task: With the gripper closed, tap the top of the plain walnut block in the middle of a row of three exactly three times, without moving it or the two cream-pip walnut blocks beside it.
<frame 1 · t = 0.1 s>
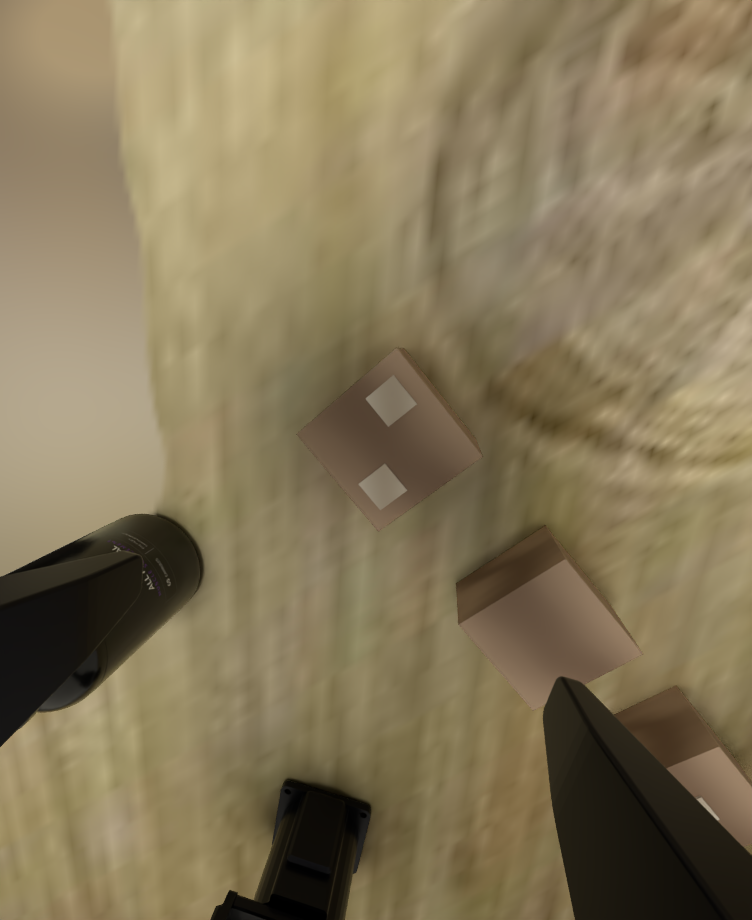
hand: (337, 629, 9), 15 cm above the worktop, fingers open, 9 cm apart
plain walnut block: (531, 592, 24), on the worktop
one-pip walnut block: (655, 741, 25), on the worktop
supplement bottle: (157, 557, 27), on the worktop
two-pip walnut block: (396, 429, 22), on the worktop
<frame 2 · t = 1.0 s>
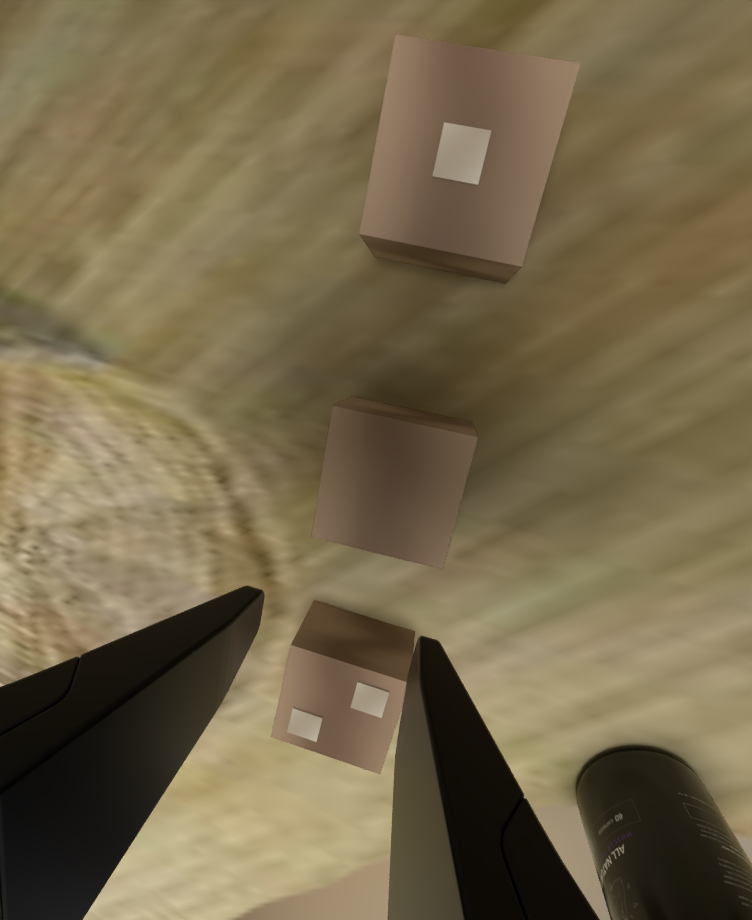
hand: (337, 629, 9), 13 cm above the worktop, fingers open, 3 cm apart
plain walnut block: (398, 465, 21), on the worktop
one-pip walnut block: (456, 197, 18), on the worktop
supplement bottle: (634, 788, 24), on the worktop
two-pip walnut block: (353, 655, 25), on the worktop
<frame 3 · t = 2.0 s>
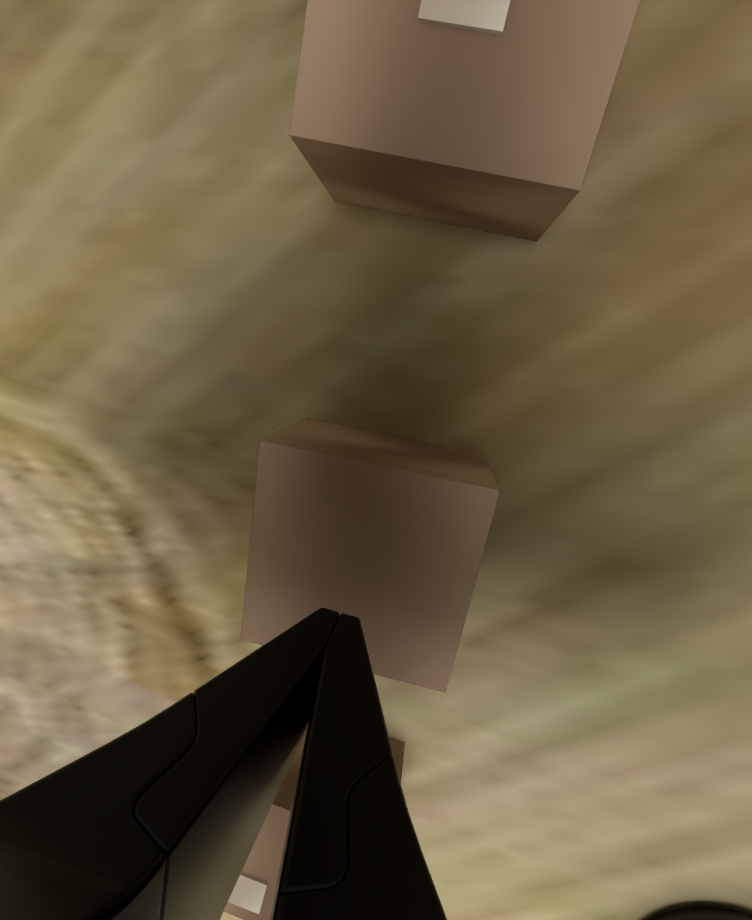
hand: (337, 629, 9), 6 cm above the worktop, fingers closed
plain walnut block: (378, 515, 15), on the worktop
one-pip walnut block: (461, 102, 11), on the worktop
two-pip walnut block: (320, 766, 18), on the worktop
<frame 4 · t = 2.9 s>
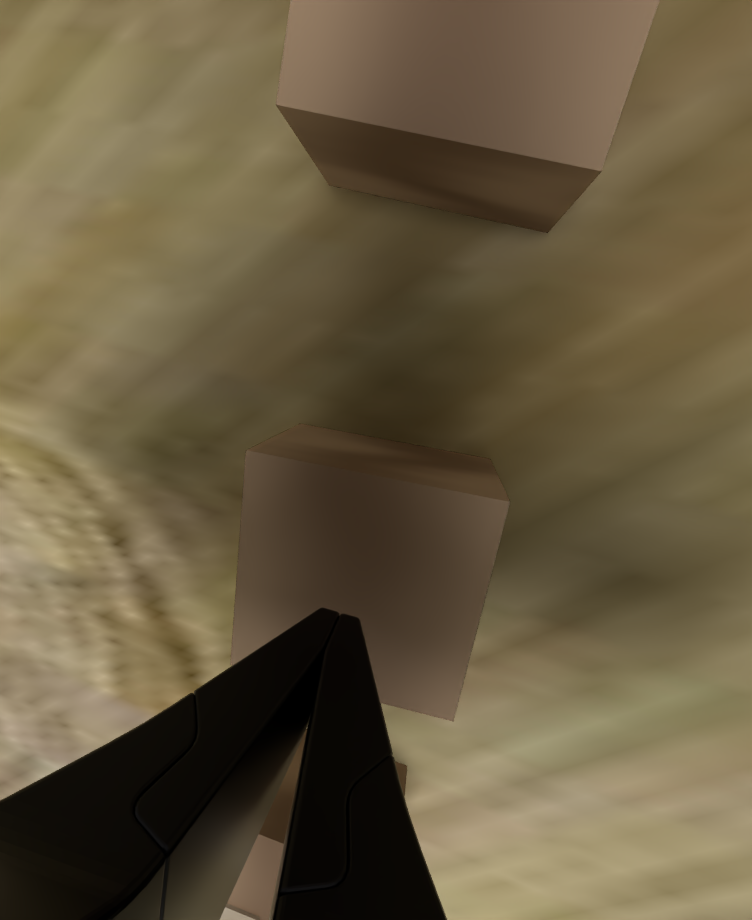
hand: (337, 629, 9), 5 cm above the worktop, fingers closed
plain walnut block: (378, 526, 14), on the worktop
one-pip walnut block: (468, 79, 10), on the worktop
two-pip walnut block: (317, 787, 17), on the worktop
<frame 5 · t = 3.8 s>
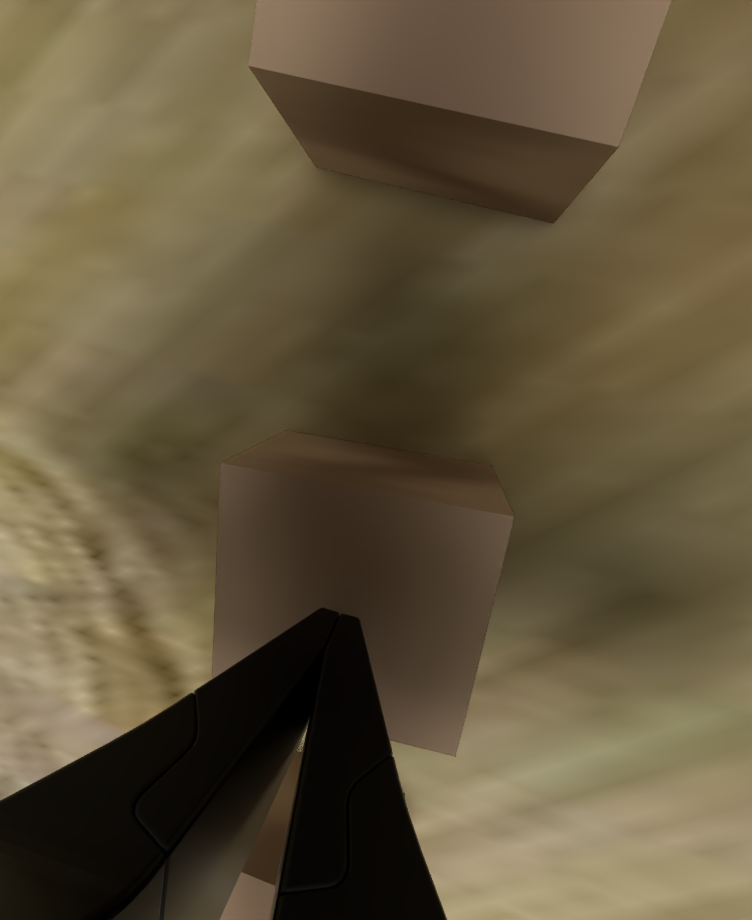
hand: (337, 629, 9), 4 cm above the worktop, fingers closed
plain walnut block: (372, 539, 13), on the worktop
one-pip walnut block: (469, 52, 10), on the worktop
two-pip walnut block: (308, 813, 16), on the worktop
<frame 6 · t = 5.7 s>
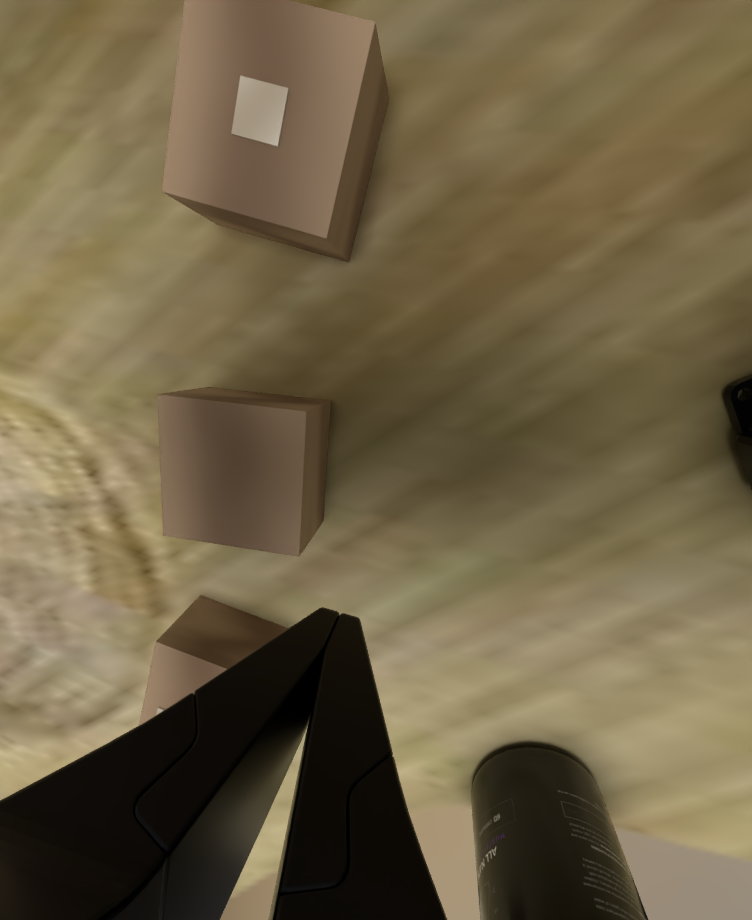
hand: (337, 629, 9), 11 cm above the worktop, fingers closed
plain walnut block: (268, 454, 20), on the worktop
one-pip walnut block: (299, 167, 17), on the worktop
supplement bottle: (531, 787, 23), on the worktop
two-pip walnut block: (240, 655, 24), on the worktop
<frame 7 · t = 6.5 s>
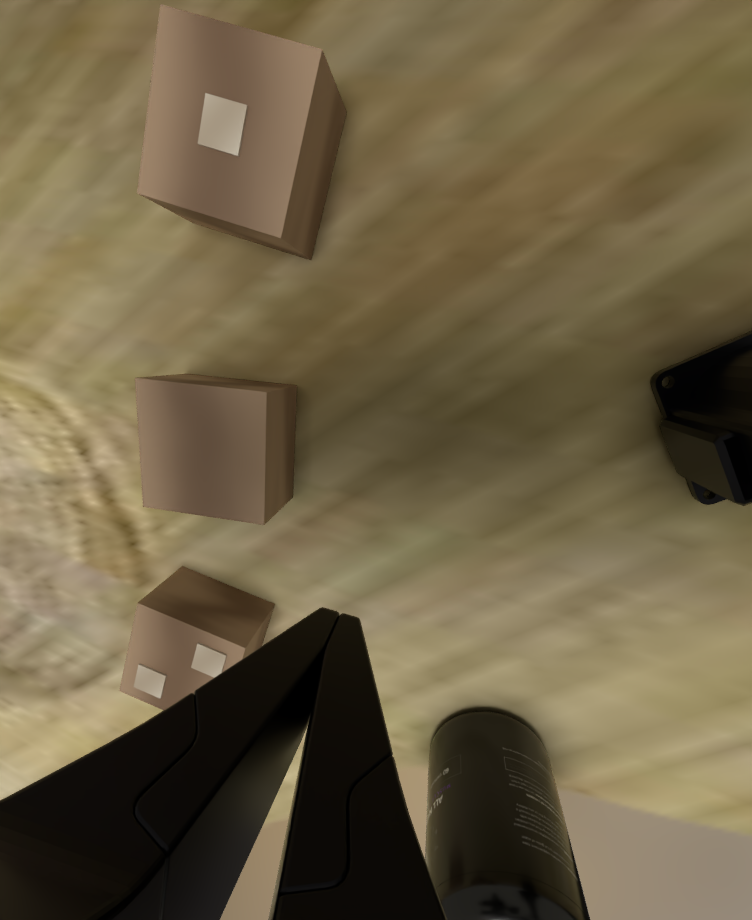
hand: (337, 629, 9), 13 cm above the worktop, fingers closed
plain walnut block: (242, 435, 22), on the worktop
one-pip walnut block: (267, 172, 19), on the worktop
supplement bottle: (486, 750, 25), on the worktop
two-pip walnut block: (218, 623, 26), on the worktop
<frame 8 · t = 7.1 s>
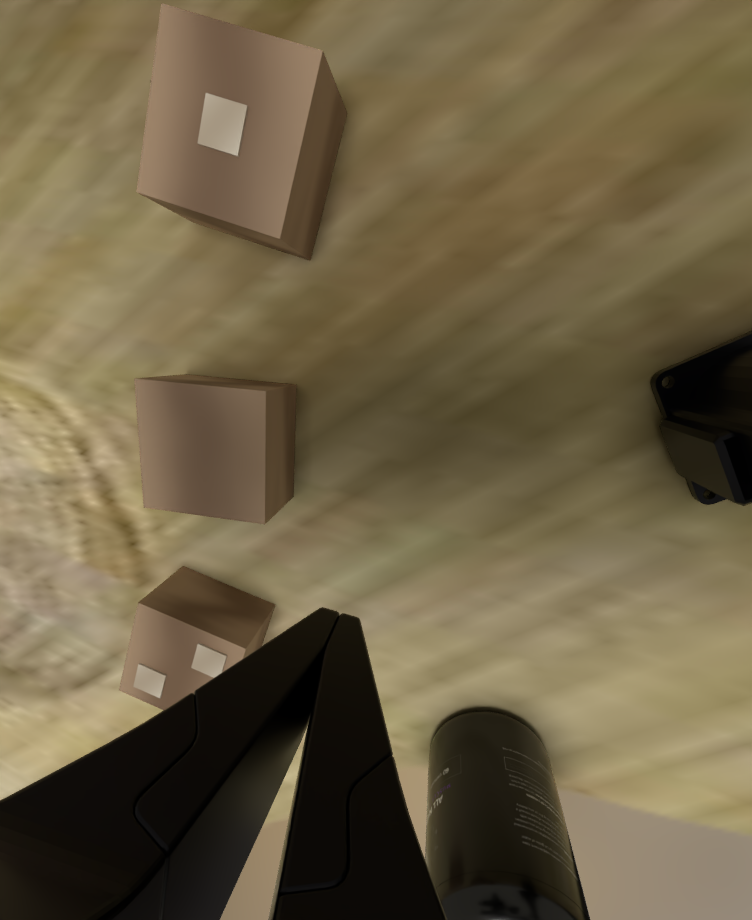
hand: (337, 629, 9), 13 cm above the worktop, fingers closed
plain walnut block: (242, 435, 22), on the worktop
one-pip walnut block: (267, 172, 19), on the worktop
supplement bottle: (486, 750, 25), on the worktop
two-pip walnut block: (218, 623, 26), on the worktop
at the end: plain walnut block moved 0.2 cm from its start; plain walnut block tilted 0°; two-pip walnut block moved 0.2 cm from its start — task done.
